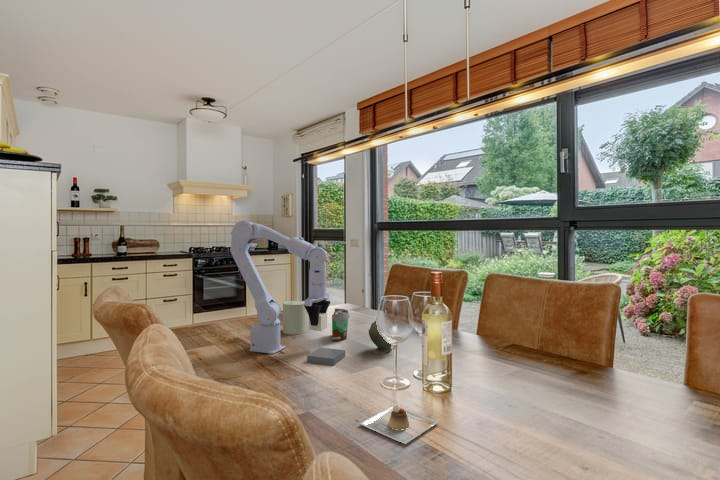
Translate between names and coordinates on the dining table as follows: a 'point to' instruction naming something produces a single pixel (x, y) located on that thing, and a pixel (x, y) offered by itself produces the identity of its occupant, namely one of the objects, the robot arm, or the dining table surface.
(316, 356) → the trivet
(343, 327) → the food container
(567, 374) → the dining table surface
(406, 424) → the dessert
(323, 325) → the block
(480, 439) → the dining table surface
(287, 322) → the can
